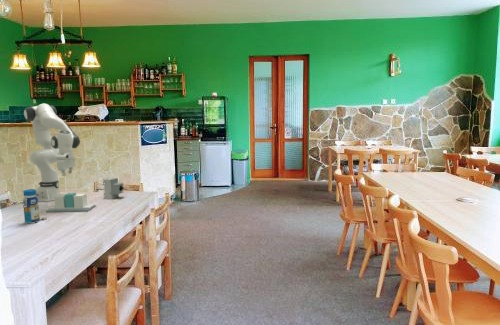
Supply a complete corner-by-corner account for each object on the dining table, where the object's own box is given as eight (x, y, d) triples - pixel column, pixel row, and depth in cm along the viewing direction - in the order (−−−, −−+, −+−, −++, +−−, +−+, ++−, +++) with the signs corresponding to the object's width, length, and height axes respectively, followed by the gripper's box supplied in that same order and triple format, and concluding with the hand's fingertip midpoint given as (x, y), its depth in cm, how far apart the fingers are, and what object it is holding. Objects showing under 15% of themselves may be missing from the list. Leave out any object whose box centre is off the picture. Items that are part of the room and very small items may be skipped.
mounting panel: (46, 212, 267) (44, 197, 265) (55, 207, 281) (54, 193, 279) (88, 211, 267) (86, 196, 266) (95, 206, 281) (94, 192, 280)
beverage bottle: (25, 221, 246) (22, 189, 243) (40, 219, 249) (38, 188, 247) (23, 224, 238) (20, 192, 236) (39, 222, 242) (36, 190, 239)
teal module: (66, 207, 271) (64, 194, 270) (69, 205, 276) (68, 192, 275) (73, 207, 271) (72, 194, 270) (76, 205, 276) (75, 192, 275)
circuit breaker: (120, 199, 303) (119, 179, 301) (104, 198, 306) (102, 179, 304) (125, 197, 310) (124, 178, 308) (109, 196, 313) (108, 177, 311)
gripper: (68, 152, 282) (69, 171, 284) (54, 156, 261) (55, 177, 263) (77, 152, 282) (78, 171, 284) (64, 156, 261) (65, 177, 264)
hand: (67, 174), depth 273 cm, fingers open, 8 cm apart
